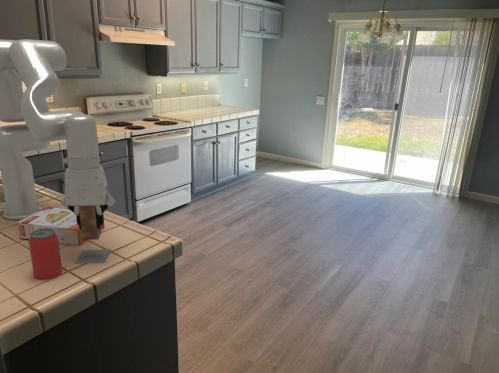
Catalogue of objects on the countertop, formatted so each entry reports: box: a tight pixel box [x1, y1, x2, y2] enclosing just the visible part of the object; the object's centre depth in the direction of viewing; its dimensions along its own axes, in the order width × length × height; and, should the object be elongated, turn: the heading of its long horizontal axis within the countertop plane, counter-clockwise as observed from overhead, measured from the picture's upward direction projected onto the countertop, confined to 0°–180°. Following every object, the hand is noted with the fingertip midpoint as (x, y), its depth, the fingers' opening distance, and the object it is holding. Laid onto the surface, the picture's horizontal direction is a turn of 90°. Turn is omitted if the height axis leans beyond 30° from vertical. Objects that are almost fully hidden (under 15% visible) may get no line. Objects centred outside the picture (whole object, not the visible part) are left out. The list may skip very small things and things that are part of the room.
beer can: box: [28, 228, 63, 281], centre depth 98 cm, size 7×7×12 cm
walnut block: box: [78, 206, 102, 241], centre depth 105 cm, size 4×4×12 cm
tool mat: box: [74, 248, 112, 265], centre depth 108 cm, size 8×8×1 cm
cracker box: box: [17, 206, 106, 246], centre depth 122 cm, size 14×6×21 cm
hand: (90, 226), depth 105 cm, fingers closed on walnut block, 4 cm apart
